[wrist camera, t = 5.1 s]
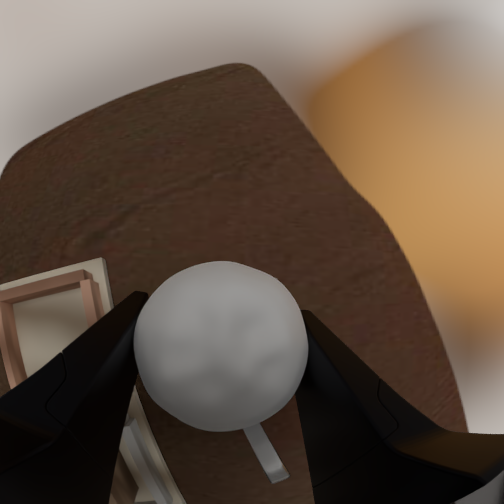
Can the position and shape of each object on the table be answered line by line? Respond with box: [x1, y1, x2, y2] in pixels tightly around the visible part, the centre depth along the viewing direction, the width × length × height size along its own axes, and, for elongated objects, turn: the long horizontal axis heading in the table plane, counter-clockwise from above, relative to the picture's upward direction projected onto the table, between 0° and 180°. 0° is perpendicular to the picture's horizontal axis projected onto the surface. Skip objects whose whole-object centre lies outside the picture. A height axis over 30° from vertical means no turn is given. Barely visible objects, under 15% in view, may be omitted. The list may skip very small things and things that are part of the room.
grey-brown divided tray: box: [0, 257, 186, 504], centre depth 14 cm, size 23×11×6 cm, turn 16°
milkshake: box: [134, 261, 308, 484], centre depth 10 cm, size 4×5×10 cm
